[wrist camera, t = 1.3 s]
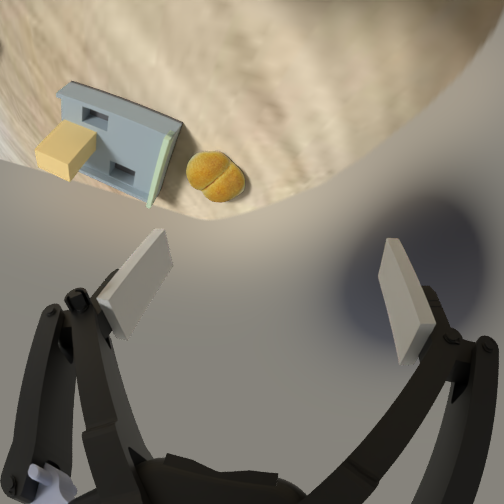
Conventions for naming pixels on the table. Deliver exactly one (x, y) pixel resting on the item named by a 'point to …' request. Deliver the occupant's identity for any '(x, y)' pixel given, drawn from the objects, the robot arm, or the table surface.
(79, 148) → the ochre block
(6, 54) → the table surface
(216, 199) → the bread roll
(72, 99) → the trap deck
